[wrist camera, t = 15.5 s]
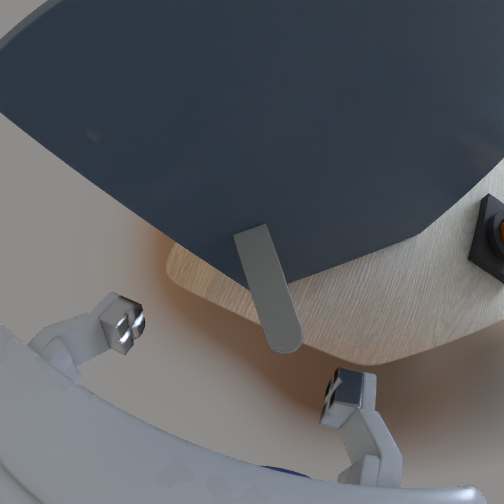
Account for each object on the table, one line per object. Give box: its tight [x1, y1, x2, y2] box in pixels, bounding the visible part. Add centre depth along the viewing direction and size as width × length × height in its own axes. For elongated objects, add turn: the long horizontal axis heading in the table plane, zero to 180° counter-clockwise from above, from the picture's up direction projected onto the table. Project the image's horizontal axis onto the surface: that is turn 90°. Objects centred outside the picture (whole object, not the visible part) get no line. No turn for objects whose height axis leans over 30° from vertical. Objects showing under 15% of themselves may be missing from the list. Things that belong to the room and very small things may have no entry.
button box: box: [468, 194, 504, 283], centre depth 29 cm, size 10×8×4 cm
